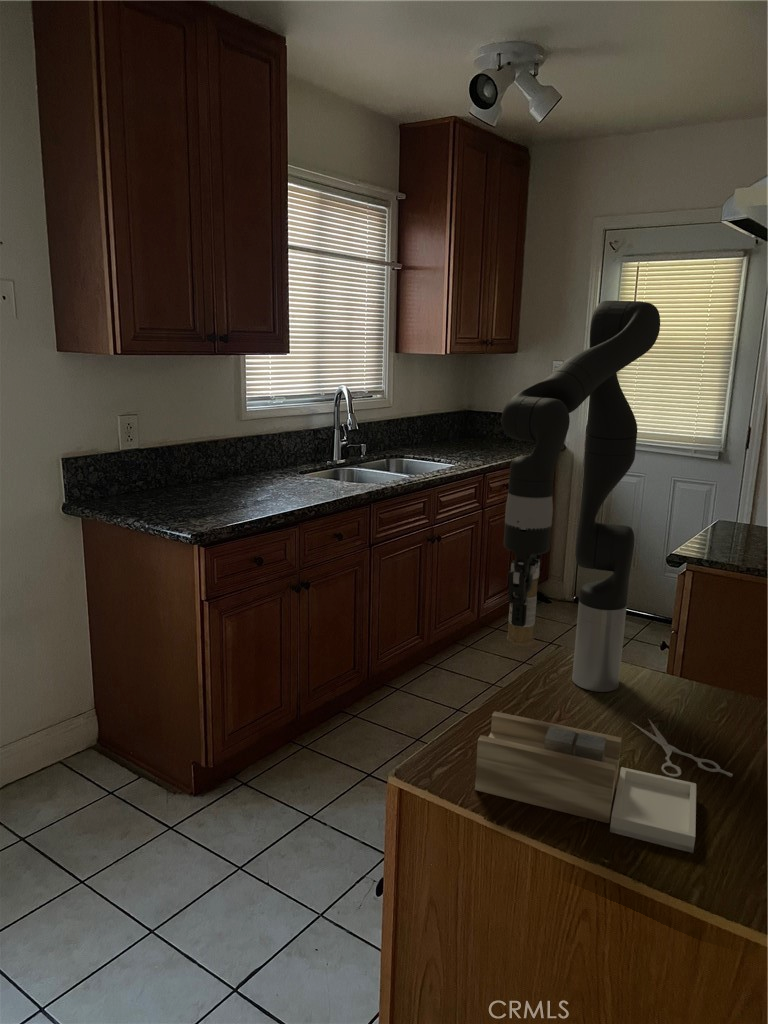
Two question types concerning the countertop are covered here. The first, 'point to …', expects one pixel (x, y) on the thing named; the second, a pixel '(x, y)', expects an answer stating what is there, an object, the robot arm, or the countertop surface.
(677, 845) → the tray
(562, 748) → the grey cube
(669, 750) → the scissors
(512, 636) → the sprinkles bottle
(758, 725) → the countertop surface
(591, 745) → the dark grey cube
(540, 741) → the channel
